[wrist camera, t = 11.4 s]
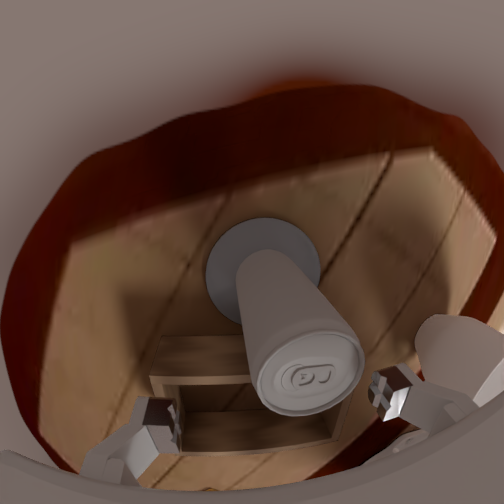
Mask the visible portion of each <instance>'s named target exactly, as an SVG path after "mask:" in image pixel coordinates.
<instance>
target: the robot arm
mask: <svg viewBox="0 0 504 504" xmlns="http://www.w3.org/2000/svg"><path fill="white" fill-rule="evenodd" d="M371 379H372V380H373V382H372V383H371V385H370V386H369V389H368V398H369V400H370V402H371V404H372V405H373V406H375V407H377V413H378V415H379V416H380V418H381V419H382V421H386V420H389V419H392V418H395V417H398V416H399V417H400V418H402V419H404V420H406V421H408V422H409V423H411V424H413V425H415V426H417V427H419V428H421V429H420V430H417V431H413V432H410V433H406V434H404V435H402V436H400V437H399V438H398V439H396V440H395V441H394V442H393V443H392V444H391V445H390V446H389V447H387V448H386V449H384V450H383V451H381V452H380V453H378V454H376V455H375V456H373V457H372V458H370V459H369V460H368V461H366V462H365V463H364V464H362V465H361V466H358V467H355V468H352V469H349V470H345V471H342V472H338V473H335V474H331V475H327V476H323V477H319V478H315V479H310V480H306V481H301V482H296V483H290V484H284V485H278V486H271V487H263V488H254V489H243V490H229V491H177V490H162V489H151V488H143V487H142V486H141V485H140V484H139V482H138V481H137V478H138V477H139V476H140V475H141V474H142V473H143V472H144V471H145V470H146V468H147V467H148V466H149V465H150V464H151V463H152V462H153V461H154V459H155V458H156V457H157V456H158V455H159V453H180V445H181V440H180V437H179V435H180V434H181V433H182V420H181V415H180V412H179V411H178V410H177V402H176V399H175V398H166V397H142V396H138V398H137V399H136V402H135V405H134V408H133V412H132V415H131V418H130V422H129V424H125V425H123V426H122V427H121V428H119V429H118V430H117V431H115V432H114V433H113V434H111V435H110V436H109V437H107V438H106V439H105V440H103V441H102V442H101V443H99V444H98V445H97V446H95V447H94V448H92V449H91V450H90V451H88V452H87V454H86V456H85V459H84V462H83V465H82V468H81V471H80V474H79V475H77V474H73V473H70V472H67V471H63V470H60V469H57V468H54V467H51V466H48V465H45V464H43V463H39V462H37V461H35V460H32V459H30V458H27V457H25V456H22V455H20V454H18V453H16V452H14V451H11V450H3V451H0V504H504V390H503V391H502V392H501V393H500V394H498V395H497V396H496V397H494V398H493V399H491V400H490V401H489V402H487V403H486V404H484V405H483V406H481V407H479V406H478V405H477V404H476V403H475V402H474V401H473V400H472V399H471V398H470V397H469V396H468V395H467V394H465V393H462V392H459V391H455V390H452V389H449V388H446V387H442V386H439V385H436V384H433V383H430V382H427V381H424V382H422V381H421V380H420V378H419V377H418V376H417V375H416V374H415V373H414V372H413V371H412V370H411V369H410V368H409V367H408V366H407V365H406V364H405V363H400V364H397V365H394V366H391V367H387V368H384V369H381V370H377V371H374V372H373V374H372V377H371Z"/></svg>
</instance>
